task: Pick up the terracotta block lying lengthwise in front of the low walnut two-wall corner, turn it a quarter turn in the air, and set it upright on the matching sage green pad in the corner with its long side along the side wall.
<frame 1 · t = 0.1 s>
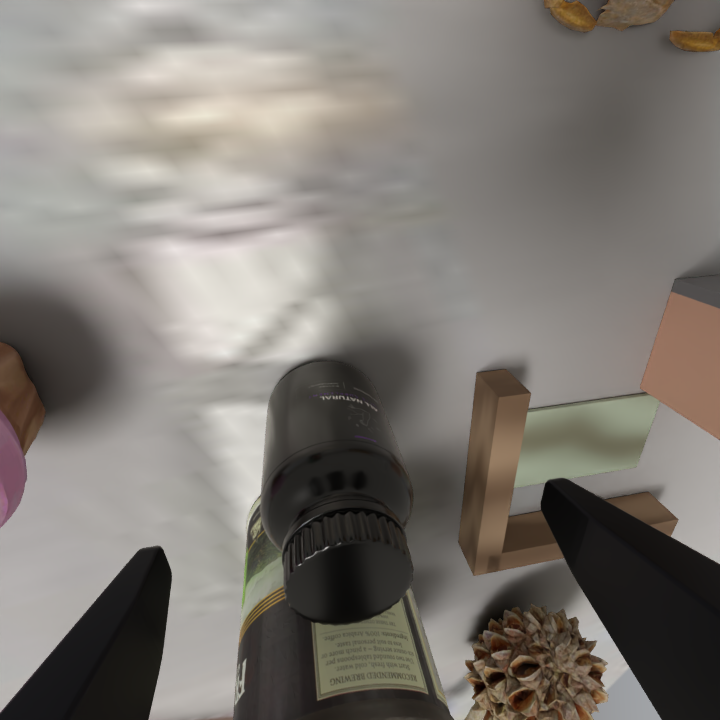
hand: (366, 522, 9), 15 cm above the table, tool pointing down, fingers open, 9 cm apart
terracotta block: (685, 333, 28), on the table
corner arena: (568, 441, 30), on the table
coffee can: (319, 519, 30), on the table
supplement bottle: (322, 404, 25), on the table
pine cone: (483, 640, 42), on the table
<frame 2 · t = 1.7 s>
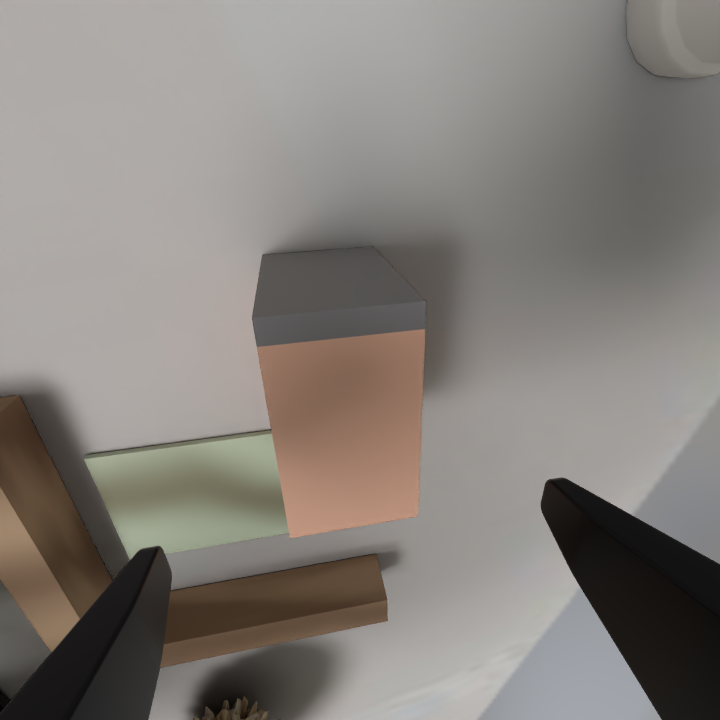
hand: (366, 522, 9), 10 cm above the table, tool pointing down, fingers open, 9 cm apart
terracotta block: (326, 339, 18), on the table
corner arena: (203, 494, 21), on the table
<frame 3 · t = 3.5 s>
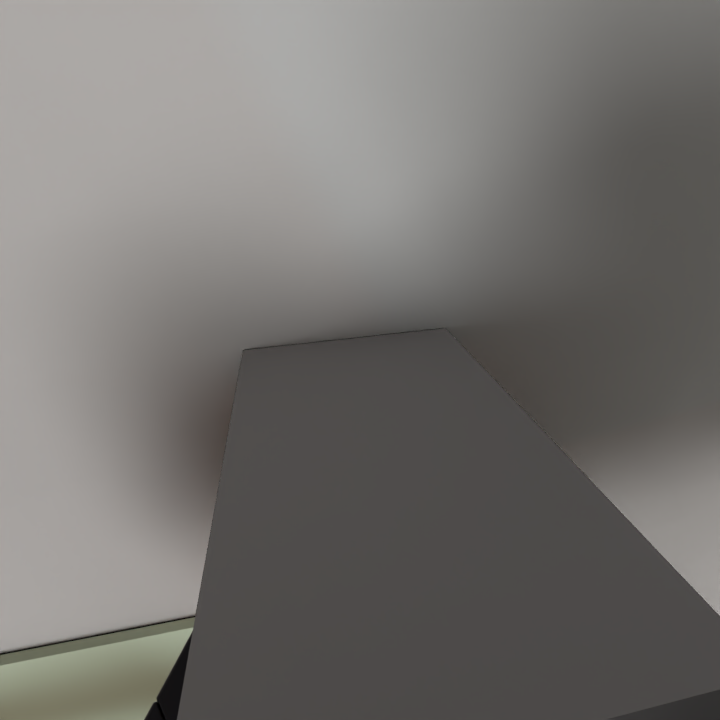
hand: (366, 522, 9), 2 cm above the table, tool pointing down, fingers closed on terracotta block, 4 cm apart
terracotta block: (355, 476, 11), on the table, touching gripper
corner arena: (158, 692, 13), on the table
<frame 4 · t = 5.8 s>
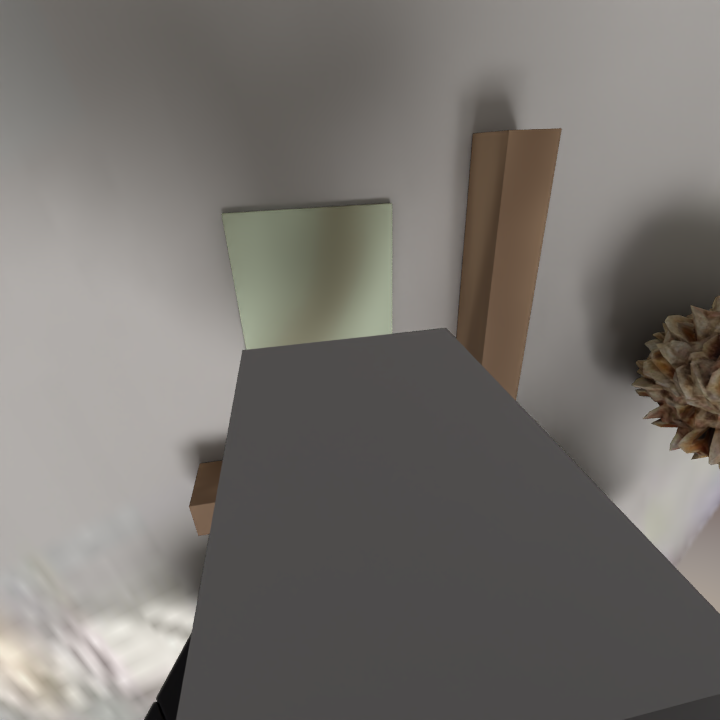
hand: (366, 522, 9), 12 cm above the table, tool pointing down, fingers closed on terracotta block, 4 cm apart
terracotta block: (355, 476, 11), point 10 cm above the table, touching gripper
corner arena: (321, 348, 20), on the table
when the fingers open (3 cm above the table, at t = 8.1 s): terracotta block stays where it is, resting on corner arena.
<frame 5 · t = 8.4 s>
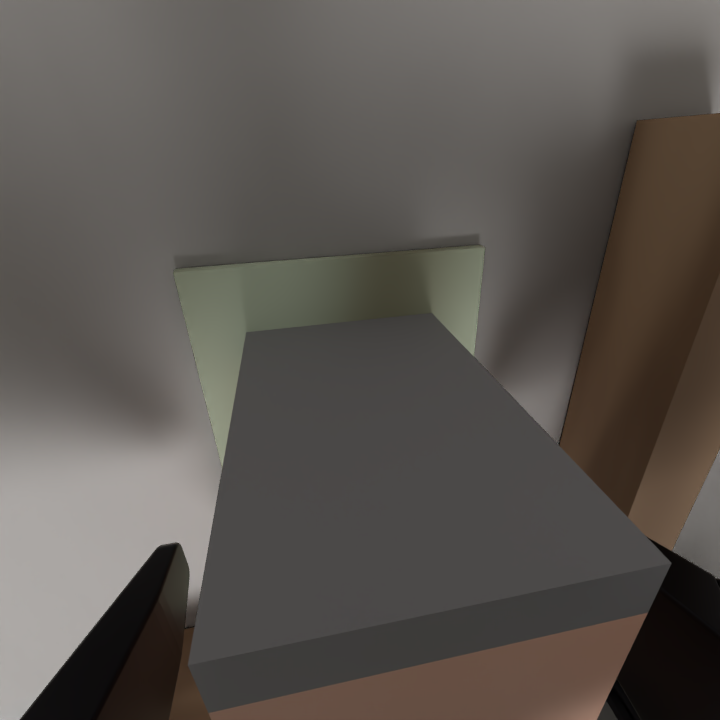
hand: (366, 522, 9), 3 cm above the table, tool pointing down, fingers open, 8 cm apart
terracotta block: (350, 452, 12), resting on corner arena
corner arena: (349, 471, 12), on the table
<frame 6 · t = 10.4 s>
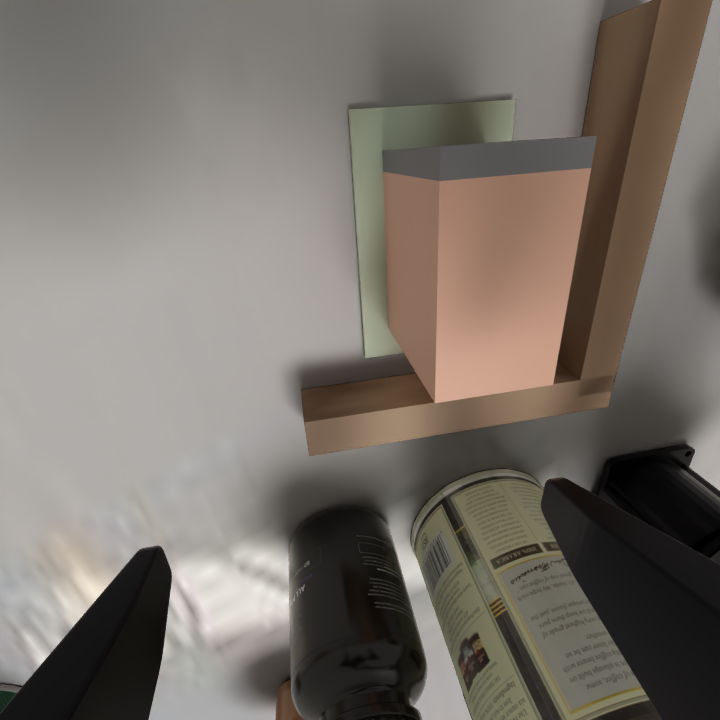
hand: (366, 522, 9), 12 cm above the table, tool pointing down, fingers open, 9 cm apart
terracotta block: (432, 243, 19), resting on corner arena
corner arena: (430, 262, 20), on the table
cupcake: (310, 683, 35), on the table
coffee can: (479, 520, 29), on the table
supplement bottle: (339, 537, 27), on the table
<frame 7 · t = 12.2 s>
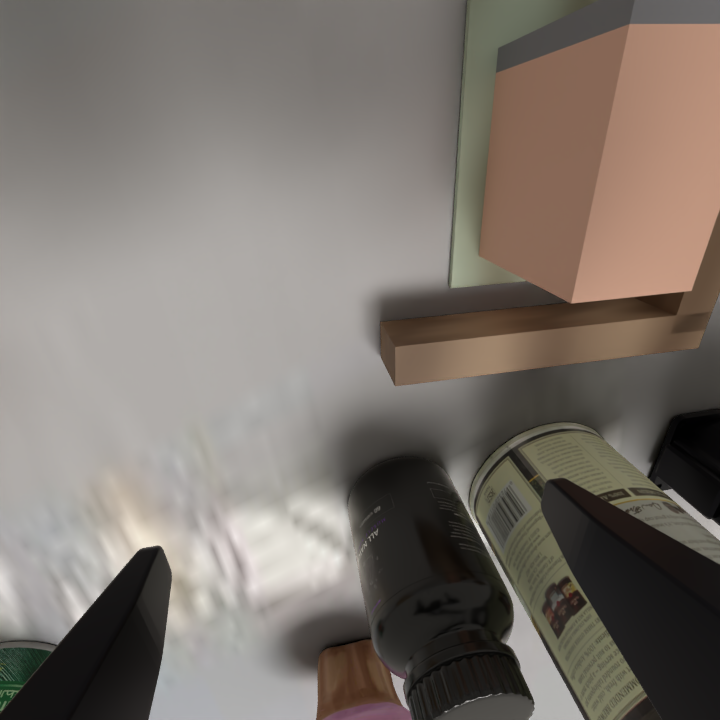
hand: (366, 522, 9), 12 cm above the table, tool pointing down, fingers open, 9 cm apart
terracotta block: (535, 160, 18), resting on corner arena
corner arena: (528, 184, 19), on the table
cupcake: (349, 652, 33), on the table
coffee can: (537, 479, 28), on the table
canned tomato: (25, 672, 28), on the table
supplement bottle: (397, 492, 26), on the table
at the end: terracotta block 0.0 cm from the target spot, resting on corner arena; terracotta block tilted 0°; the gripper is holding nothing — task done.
